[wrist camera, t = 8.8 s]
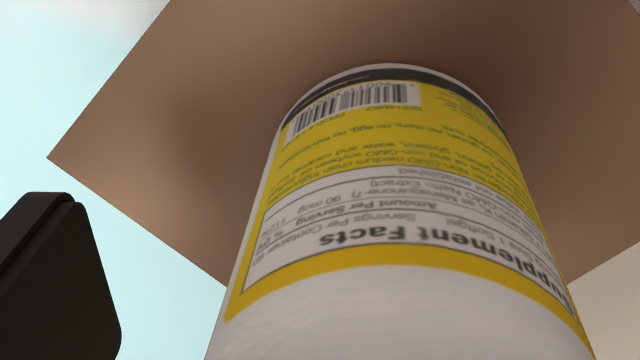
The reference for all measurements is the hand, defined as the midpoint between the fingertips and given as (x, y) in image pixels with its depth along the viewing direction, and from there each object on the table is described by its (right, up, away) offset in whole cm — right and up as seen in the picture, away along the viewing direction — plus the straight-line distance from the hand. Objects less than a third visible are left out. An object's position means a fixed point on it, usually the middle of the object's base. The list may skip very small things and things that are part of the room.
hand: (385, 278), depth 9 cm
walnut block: (+1, +5, +8) cm, 9 cm away
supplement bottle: (0, +2, +3) cm, 4 cm away
